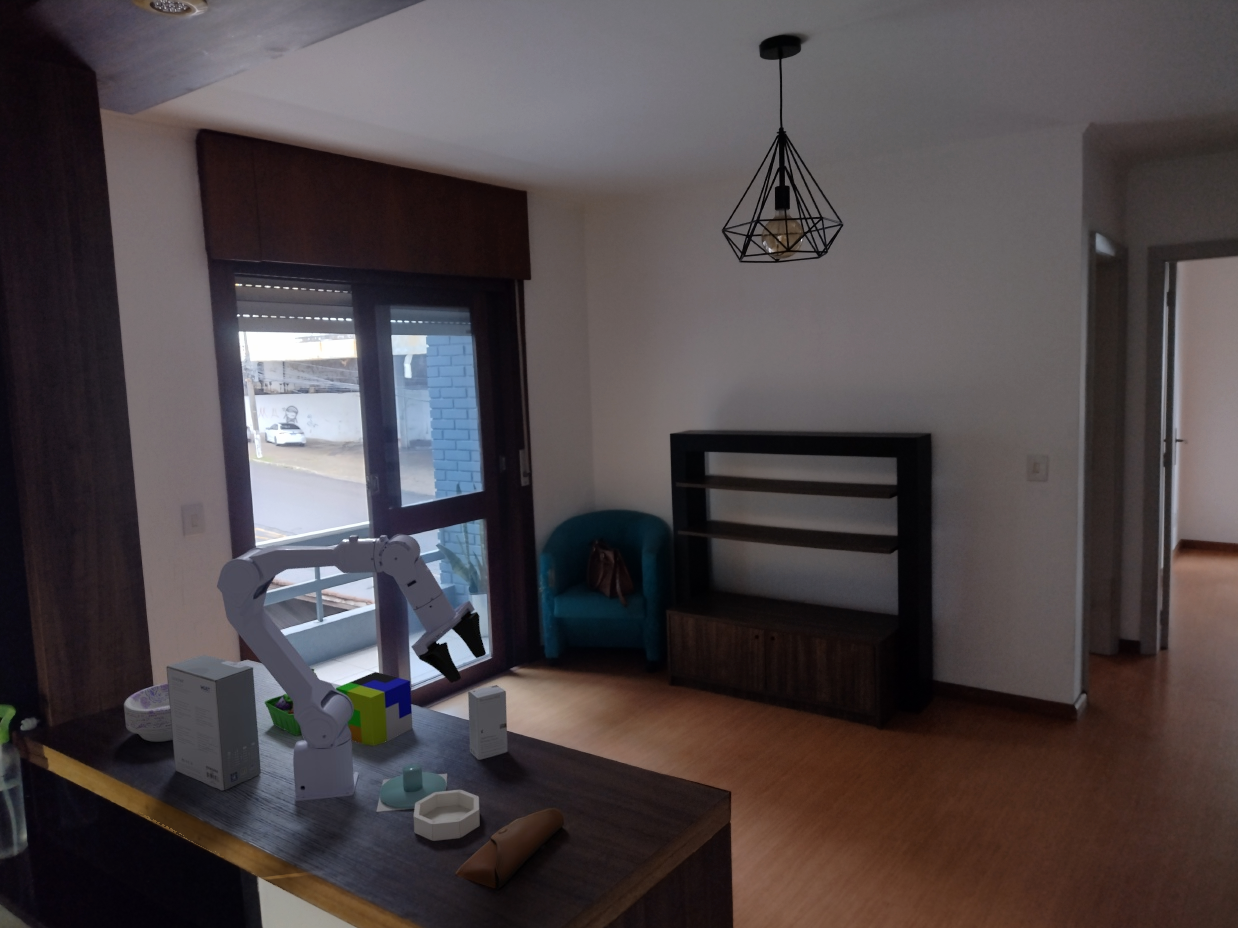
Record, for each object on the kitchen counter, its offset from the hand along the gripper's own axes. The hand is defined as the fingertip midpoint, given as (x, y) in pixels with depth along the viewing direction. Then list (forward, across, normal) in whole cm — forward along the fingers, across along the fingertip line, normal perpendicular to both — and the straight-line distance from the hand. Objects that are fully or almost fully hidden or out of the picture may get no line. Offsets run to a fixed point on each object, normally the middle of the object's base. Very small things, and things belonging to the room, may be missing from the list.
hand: (469, 667), depth 147 cm
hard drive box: (-4, -20, +48) cm, 52 cm away
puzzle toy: (+8, +4, +37) cm, 38 cm away
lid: (+13, -12, +14) cm, 23 cm away
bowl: (+17, -17, +4) cm, 25 cm away
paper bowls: (-12, -12, +70) cm, 72 cm away
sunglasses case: (+23, -20, -8) cm, 31 cm away
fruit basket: (0, +1, +52) cm, 52 cm away
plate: (+14, -12, +14) cm, 23 cm away
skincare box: (+19, +6, +14) cm, 24 cm away
